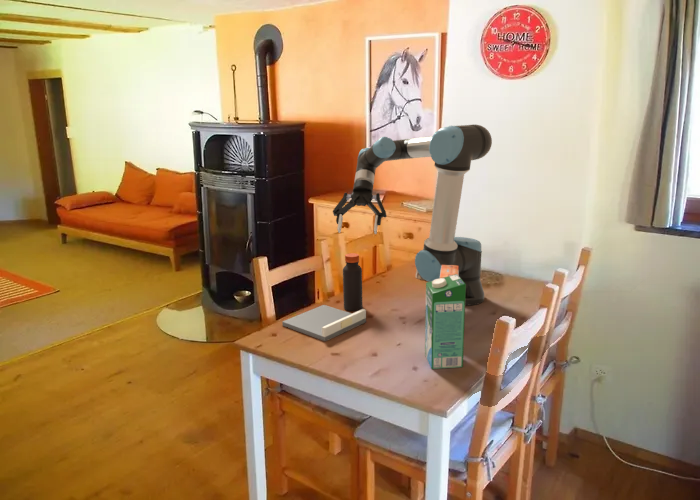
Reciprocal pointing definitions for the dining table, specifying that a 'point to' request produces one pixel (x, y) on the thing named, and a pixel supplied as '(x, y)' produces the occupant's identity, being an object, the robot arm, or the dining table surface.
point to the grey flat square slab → (325, 322)
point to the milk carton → (445, 322)
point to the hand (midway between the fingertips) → (356, 231)
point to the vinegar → (352, 283)
